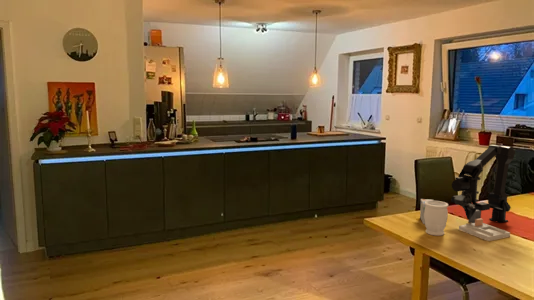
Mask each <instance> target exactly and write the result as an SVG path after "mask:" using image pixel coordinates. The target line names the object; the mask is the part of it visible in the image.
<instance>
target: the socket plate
mask: <svg viewBox="0 0 534 300" xmlns="http://www.w3.org/2000/svg"><path fill="white" fill-rule="evenodd" d="M470 224H471V223H465V224H462V225H458V230H459V231H462V232H463V233H466V234H468V235H471V236H473V237H474V236H475V237H477V238H480V239H481V240H484V241H487V242H491V241H497V240H500V239H505V238H509V237H511V231H510V232H509V231H507V230H505V229H501V228H499V227H496V226H493V225H490V224H489V223H488V224H487V223H484V222H483V224H484V225H487V226H489V228H485V229H481V228H478V227H475V226H472V225H470Z"/></svg>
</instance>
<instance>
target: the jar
mask: <svg viewBox="0 0 534 300" xmlns="http://www.w3.org/2000/svg"><path fill="white" fill-rule="evenodd" d="M425 205H426V207H425V210H424V220H425V224H424V226H425V228H426V229H425V233H426V234H428V235H431V236H439V237H440V236H443V235H445V231H444V230H445V229H446V227H447V223H448V217H449V215H448V214H449V213H448V207H449V203H448V202H445V201H440V200H434V201H426V202H425Z"/></svg>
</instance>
